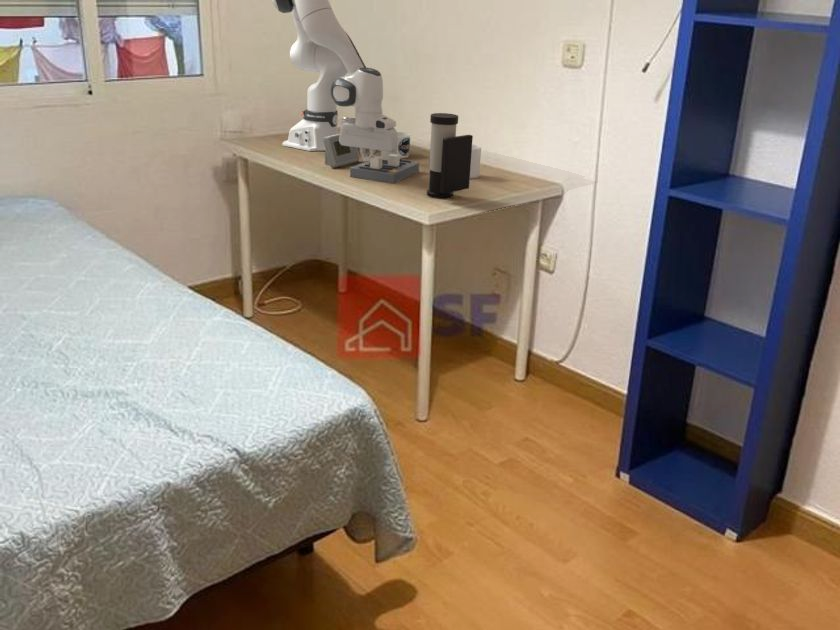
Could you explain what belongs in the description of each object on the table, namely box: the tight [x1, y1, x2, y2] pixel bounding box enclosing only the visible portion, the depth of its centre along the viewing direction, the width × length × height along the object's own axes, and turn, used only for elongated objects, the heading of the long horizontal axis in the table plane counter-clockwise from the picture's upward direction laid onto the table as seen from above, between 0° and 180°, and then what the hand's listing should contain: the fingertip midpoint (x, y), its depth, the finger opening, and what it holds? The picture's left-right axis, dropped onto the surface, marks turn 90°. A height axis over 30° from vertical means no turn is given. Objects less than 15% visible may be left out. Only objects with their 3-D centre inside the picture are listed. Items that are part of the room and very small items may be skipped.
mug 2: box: [470, 144, 482, 180], centre depth 281 cm, size 12×8×10 cm
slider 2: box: [380, 151, 392, 160], centre depth 284 cm, size 3×3×4 cm
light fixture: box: [426, 112, 474, 199], centre depth 250 cm, size 12×11×25 cm
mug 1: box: [392, 131, 411, 159], centre depth 305 cm, size 13×10×8 cm
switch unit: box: [349, 158, 420, 184], centre depth 278 cm, size 16×21×4 cm
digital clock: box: [323, 132, 360, 169], centre depth 288 cm, size 16×9×11 cm, turn 137°
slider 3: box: [388, 154, 401, 166], centre depth 276 cm, size 3×3×4 cm
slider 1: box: [370, 155, 382, 169], centre depth 271 cm, size 3×3×4 cm
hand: (367, 162), depth 272 cm, fingers closed
